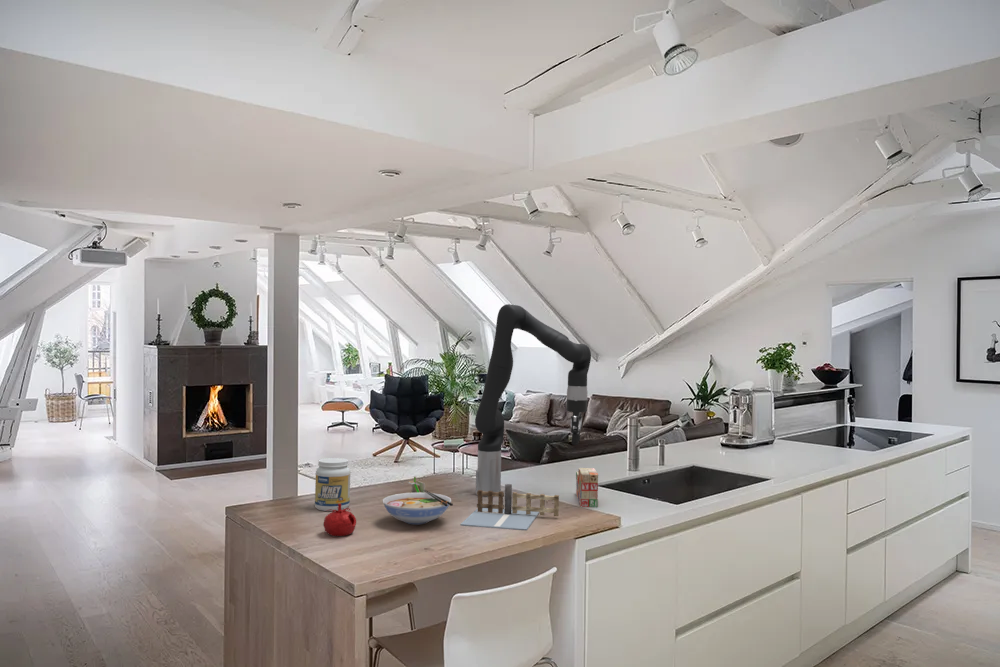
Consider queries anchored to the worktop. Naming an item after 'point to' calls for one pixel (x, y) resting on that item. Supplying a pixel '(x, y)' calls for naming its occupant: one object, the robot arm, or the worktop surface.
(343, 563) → the worktop surface
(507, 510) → the fixed fence
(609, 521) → the worktop surface
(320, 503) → the supplement tub
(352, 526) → the pomegranate
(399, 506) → the ramen bowl
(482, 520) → the card
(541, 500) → the hinged fence panel
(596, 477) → the stack of blocks
